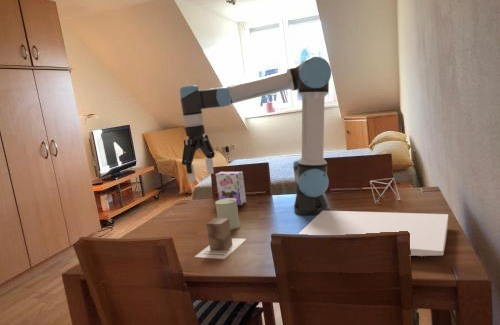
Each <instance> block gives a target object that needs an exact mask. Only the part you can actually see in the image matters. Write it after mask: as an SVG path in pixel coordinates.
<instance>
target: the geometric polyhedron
mask: <svg viewBox="0 0 500 325" xmlns="http://www.w3.org/2000/svg"><path fill="white" fill-rule="evenodd" d="M391 179H392V180H391ZM383 180H386V178H383V179H382V178H381V179H379V181H380V182H379V181H377V179H373V180H370V181H369V183H370V188H371V191H372V195H373V199H374V203H375V204H377V203H376V202H378V201H379V200H378V199H379V198H380V197H381V196H383V195H384V193H385V192H386V191H387V189H388V187H390V189H391V190H392V191H393V193H394V194H395V196H396V197H397V200H400V201H401V197H400V194H399V191H398V190H399V189H398V187H397V184H396V180H395V177H391V178H388V180H390V182H388V183H387V182H383V184H384V185H387V186H386V187H385V189H384V190H383V191H382V193H381V194H380V192H379V191H378V190H377V188H376V187H375V185H374V184H373V182H374V183H378V184H379V183H380V184H382V182H381V181H383ZM393 181H394V184H395V185H394V186H395V188H396V192H397V193H396V192H395V190H394V189H393V187H392V186H391V183H392V182H393ZM372 186H373V187H372ZM373 188H374V190H376V192H377V194H378V195H379V197H378V199H377V200H376V198H375V193H374V191H373ZM381 198H382V197H381ZM381 198H380V199H381ZM378 204H381V203H380V202H378Z"/></svg>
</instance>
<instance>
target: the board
mask: <svg viewBox="0 0 500 325" xmlns="http://www.w3.org/2000/svg"><path fill="white" fill-rule="evenodd" d="M448 225H449V214H446V213H419V212H417V213H416V212H415V213H414V212H386V211H385V212H384V211H382V212H381V211H354V210H353V211H349V210H327V211H322V212H321V213H320V214H316V216H315V217H314V218H313V219H312V220H311V221H310V222H309V223H308V224H307V225H306V226H305V227H303V229H302V230H300V232H298V234H308V235H345V234H366V233H380V232H399V231H408V232H409V233H410V250H411V255H410V256H413V257H414V256H417V257H420V256H421V258H423V256H424V257H427V256H436V257H437V256H444V253H445V249H446V248H445V247H446V242H447V237H448V236H447V235H448V228H449V227H448Z"/></svg>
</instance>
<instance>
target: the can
mask: <svg viewBox="0 0 500 325" xmlns="http://www.w3.org/2000/svg"><path fill="white" fill-rule="evenodd" d="M214 202H215V203H214V204H215V209H216V215H217V218H227V219H229V223H230V230H235V229H240V228H241V224H240V217H239V210H238V209H239V208H238V205H237V199H235V198H225V199H221V200H219V199H217V200H216V201H214Z"/></svg>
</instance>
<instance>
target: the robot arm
mask: <svg viewBox="0 0 500 325" xmlns="http://www.w3.org/2000/svg"><path fill="white" fill-rule="evenodd" d="M331 78H332V69H331V65H330V64H329V62H328V61H327V60H326V59H324V58H323V57H321V56H309V57H307V58H305V59H304V60H303V61H302V62H301V63H299V64H297V65H294V66H291V67H287V69H286V70H285V71H281V72H278V73H274V74H271V75H266V76H262V77H259V78H255V79H250V80H247V81H243V82H242V81H241V82H238V83H235V84H231V85H227V86H218V87H212V88H205V89H200V87H199V86H198V85H197V84H196V85H195V84H194V85H185V86H181V87H180V89H179V95H180V96H179V97H180V99H179V100H180V104H181V109H182V115H183V123H184V126H185V128H184V131H185V135H186V137H188V139H184V140H183V151H182V160H181V165H183V166H185V167H186V173H187V178H188V182H197V181H196V174H195V167H194V164H192V163H193V161H194V157H195V153H196V151H197V150H199V149H200V151H201V152H202V153H203V154H204V156H205V157H206V158H205V165H206V172H207V175H212V174H215V172H214V171H215V170H214V162H213V158H215V151H214V149H213V146H212V144H211V142H210V138H209V135H208V134H206V132H205V131H206V130H205V125H204V122H205V121H204V117H203V111H202V110H204V109H205V110H206V109H214V108H221V107H222V108H224V107H228V106H230V105H233V104H235V103H239V102H243V101H244V102H245V101H248V100H251V99H255V98H256V99H257V98H260V97H263V96H267V95H268V96H269V95H271V94H275V93H280V92H284V91H287V90H291V91H293V92H294V91H297V90H298V95H299V96H300V97H301V100H302V101H301V109H302V110H301V158H300V159H299V160H298V159H297V160H294V161H293V163H292V164H293V166H292V169H293V175H294V183H295V193H296V195H295V201H294V204H293V210H294V213H295V214H297V215H302V216H312V215H319V214H320V213H321V212H322V211H329V203H328V201H327V198H326V196H325V193H326V191H327V190H328V188H329V184H330V180H329V176H328V162H327V161H326V159H325V158H324V147H325V146H324V145H325V144H324V140H325V139H324V138H325V136H324V135H325V128H324V127H325V97H326V96H327V95H329V91H330V89H329V88H330V86H329V85H330V83H329V82H330V80H331Z"/></svg>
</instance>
